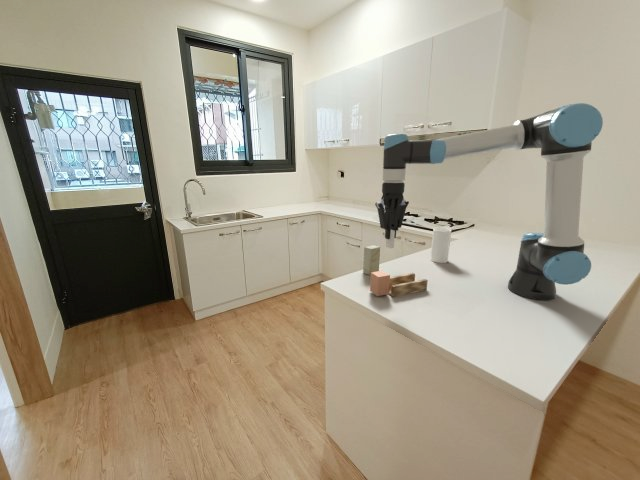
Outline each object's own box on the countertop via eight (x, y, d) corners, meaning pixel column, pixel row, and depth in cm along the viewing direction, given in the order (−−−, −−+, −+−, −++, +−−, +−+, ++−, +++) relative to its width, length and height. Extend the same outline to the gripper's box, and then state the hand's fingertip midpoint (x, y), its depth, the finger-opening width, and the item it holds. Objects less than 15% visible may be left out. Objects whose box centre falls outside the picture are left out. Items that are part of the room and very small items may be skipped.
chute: (412, 282, 122) (413, 272, 121) (426, 289, 115) (427, 280, 114) (380, 288, 116) (380, 278, 115) (392, 297, 109) (393, 286, 108)
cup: (449, 263, 145) (453, 231, 140) (431, 262, 146) (434, 231, 142) (445, 258, 152) (449, 228, 148) (429, 257, 154) (432, 227, 150)
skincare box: (369, 275, 129) (371, 249, 126) (362, 272, 132) (363, 246, 129) (379, 272, 133) (380, 246, 130) (371, 269, 136) (373, 244, 133)
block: (381, 288, 114) (382, 270, 112) (388, 293, 110) (390, 275, 108) (370, 290, 113) (370, 272, 111) (377, 296, 108) (378, 277, 106)
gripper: (401, 180, 108) (398, 242, 114) (371, 181, 103) (369, 246, 109) (415, 181, 101) (411, 247, 107) (384, 183, 96) (380, 252, 102)
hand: (389, 247), depth 108 cm, fingers closed
